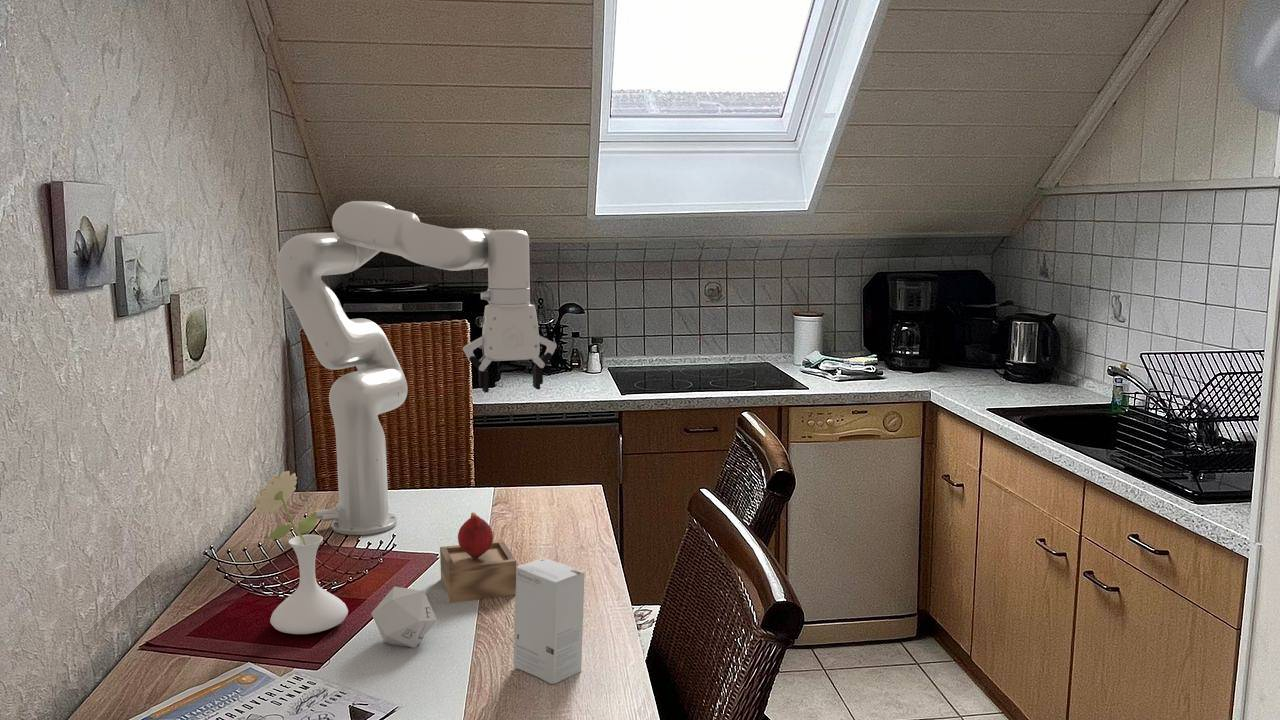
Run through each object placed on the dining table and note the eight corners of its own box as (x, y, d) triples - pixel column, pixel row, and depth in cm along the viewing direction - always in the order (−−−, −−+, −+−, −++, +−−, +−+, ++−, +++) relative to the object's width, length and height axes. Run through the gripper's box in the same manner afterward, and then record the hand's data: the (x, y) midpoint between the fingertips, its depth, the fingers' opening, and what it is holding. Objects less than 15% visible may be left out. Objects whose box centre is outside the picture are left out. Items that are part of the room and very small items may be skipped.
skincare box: (512, 668, 139) (510, 566, 137) (543, 654, 144) (542, 555, 141) (555, 686, 134) (554, 581, 131) (586, 671, 138) (585, 568, 136)
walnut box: (450, 602, 162) (449, 568, 161) (440, 579, 172) (439, 547, 172) (516, 594, 166) (516, 560, 165) (503, 571, 176) (503, 540, 175)
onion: (496, 553, 171) (495, 508, 170) (488, 564, 165) (487, 518, 164) (463, 552, 171) (462, 507, 170) (454, 563, 166) (453, 517, 165)
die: (388, 664, 142) (428, 610, 142) (350, 624, 145) (389, 571, 145) (418, 660, 149) (456, 609, 149) (381, 623, 153) (419, 572, 153)
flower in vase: (326, 605, 161) (319, 454, 157) (362, 626, 153) (355, 468, 149) (247, 628, 152) (237, 469, 148) (280, 652, 144) (271, 484, 140)
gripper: (465, 300, 176) (467, 396, 178) (560, 298, 181) (561, 390, 184) (458, 297, 183) (461, 389, 185) (550, 294, 188) (551, 383, 191)
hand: (511, 389), depth 185 cm, fingers open, 9 cm apart
